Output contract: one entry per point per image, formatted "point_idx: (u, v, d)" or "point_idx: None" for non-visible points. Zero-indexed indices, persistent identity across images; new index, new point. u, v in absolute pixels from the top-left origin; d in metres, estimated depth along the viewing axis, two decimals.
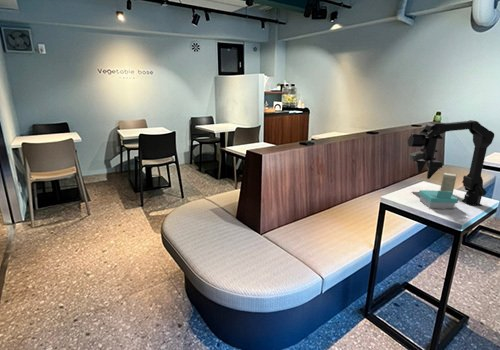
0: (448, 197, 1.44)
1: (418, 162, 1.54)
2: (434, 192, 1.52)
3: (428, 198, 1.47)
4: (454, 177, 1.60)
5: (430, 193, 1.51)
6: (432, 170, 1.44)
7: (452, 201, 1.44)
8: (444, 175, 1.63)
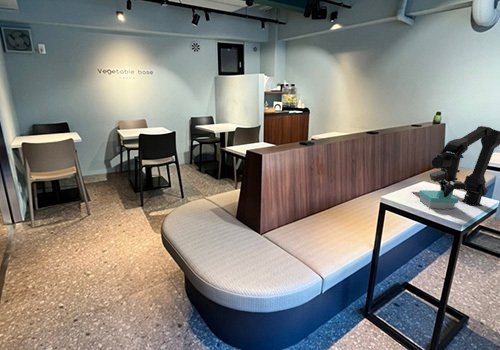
0: (448, 197, 1.44)
1: (442, 184, 1.44)
2: (434, 192, 1.52)
3: (428, 198, 1.47)
4: None
5: (430, 193, 1.51)
6: (449, 188, 1.41)
7: (452, 201, 1.44)
8: None
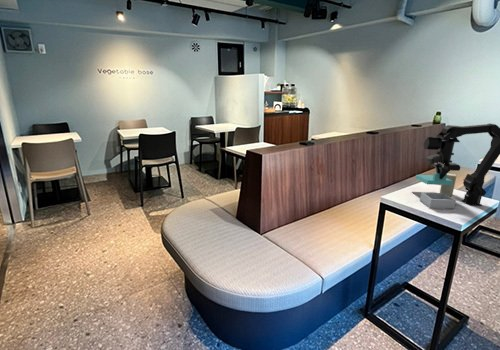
0: (443, 179, 1.52)
1: (438, 167, 1.52)
2: (430, 176, 1.60)
3: (425, 181, 1.54)
4: (454, 177, 1.60)
5: (426, 177, 1.59)
6: (445, 171, 1.49)
7: (447, 183, 1.52)
8: None
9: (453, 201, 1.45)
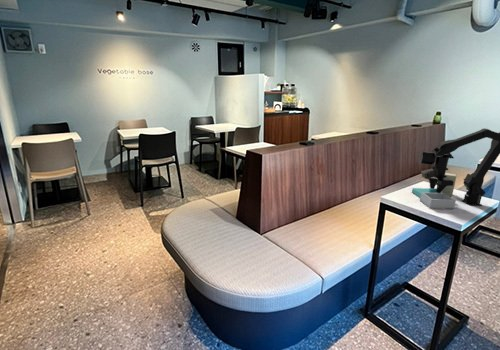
0: None
1: (431, 180, 1.59)
2: (425, 189, 1.65)
3: (420, 195, 1.60)
4: (454, 177, 1.60)
5: (422, 191, 1.64)
6: (441, 186, 1.53)
7: None
8: None
9: (453, 201, 1.45)
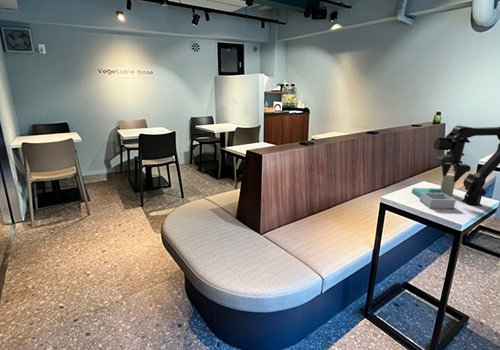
0: None
1: (443, 165, 1.55)
2: (425, 189, 1.65)
3: (420, 195, 1.60)
4: None
5: (422, 191, 1.64)
6: (459, 173, 1.45)
7: None
8: None
9: (453, 201, 1.45)
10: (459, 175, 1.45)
